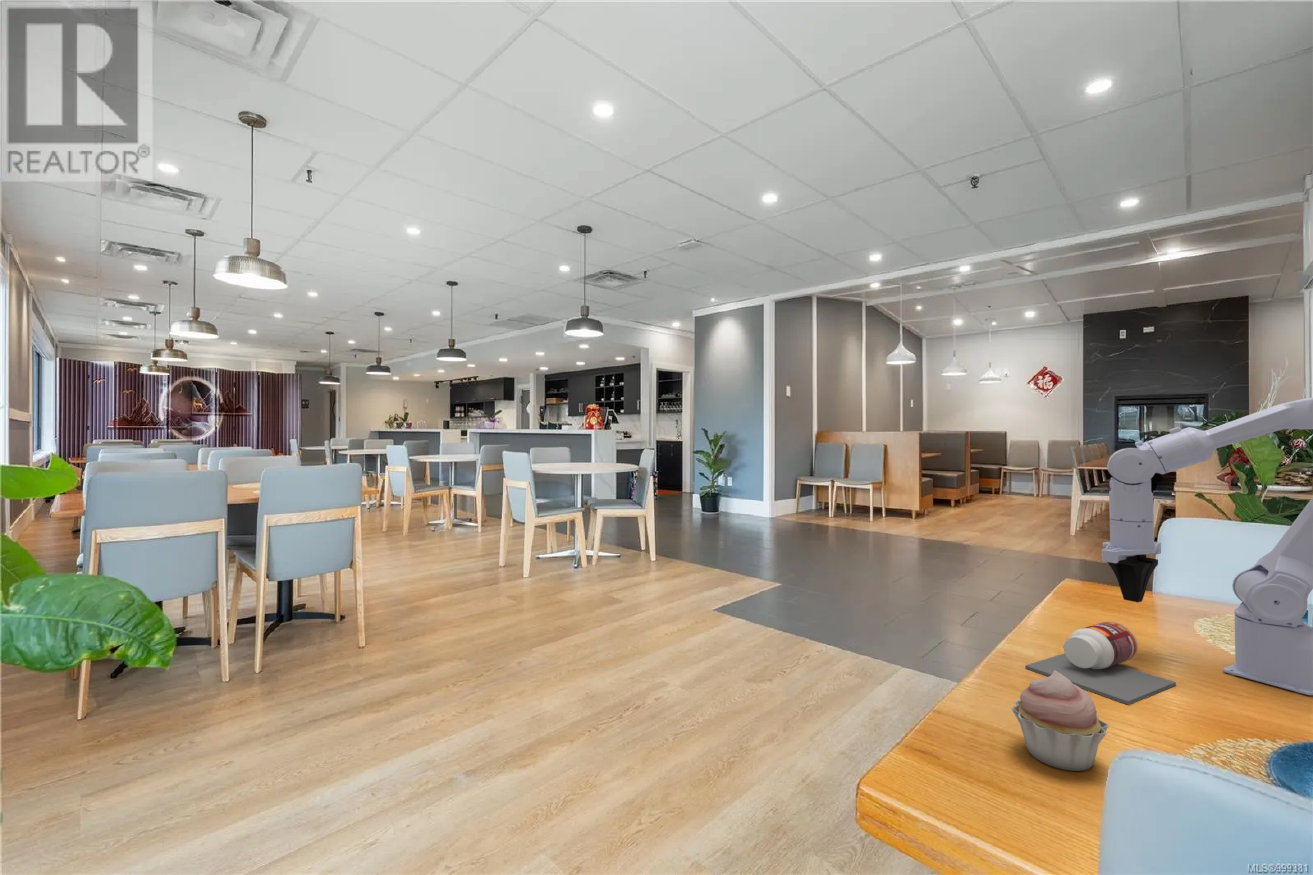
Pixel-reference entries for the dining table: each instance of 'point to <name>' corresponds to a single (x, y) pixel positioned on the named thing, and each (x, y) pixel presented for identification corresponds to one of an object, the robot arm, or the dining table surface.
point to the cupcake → (1059, 723)
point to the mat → (1105, 679)
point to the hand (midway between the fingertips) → (1132, 600)
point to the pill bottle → (1101, 645)
